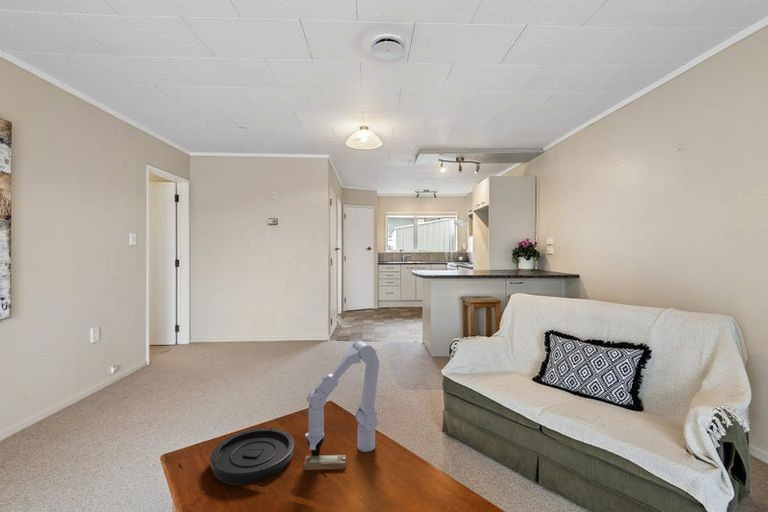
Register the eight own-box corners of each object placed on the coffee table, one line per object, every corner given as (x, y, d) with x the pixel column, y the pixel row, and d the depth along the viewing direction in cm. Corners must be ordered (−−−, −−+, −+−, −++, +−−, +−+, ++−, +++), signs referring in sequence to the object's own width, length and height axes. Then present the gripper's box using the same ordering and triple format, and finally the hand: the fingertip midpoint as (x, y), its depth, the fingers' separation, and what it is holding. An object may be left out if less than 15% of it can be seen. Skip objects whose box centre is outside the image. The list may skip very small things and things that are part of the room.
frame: (306, 461, 130) (306, 454, 130) (346, 460, 131) (346, 453, 131) (303, 469, 125) (303, 462, 125) (345, 468, 126) (345, 461, 126)
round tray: (275, 492, 115) (304, 443, 145) (275, 475, 115) (304, 429, 145) (191, 486, 118) (237, 439, 148) (191, 469, 118) (237, 425, 148)
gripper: (309, 413, 138) (309, 447, 138) (301, 432, 124) (301, 470, 124) (326, 413, 138) (326, 447, 138) (321, 432, 124) (320, 469, 124)
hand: (315, 457), depth 131 cm, fingers closed
